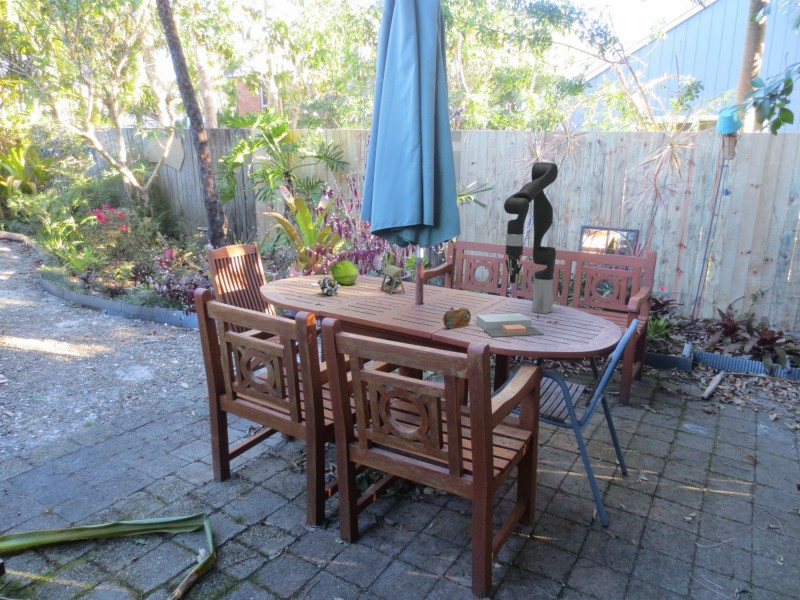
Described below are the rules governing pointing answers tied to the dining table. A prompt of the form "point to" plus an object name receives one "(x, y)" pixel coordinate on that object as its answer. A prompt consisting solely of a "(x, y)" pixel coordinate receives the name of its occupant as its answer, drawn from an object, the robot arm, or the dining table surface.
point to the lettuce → (344, 272)
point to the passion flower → (329, 285)
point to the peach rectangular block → (513, 329)
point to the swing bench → (392, 283)
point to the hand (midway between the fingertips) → (512, 282)
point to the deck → (502, 320)
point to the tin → (456, 318)
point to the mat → (500, 333)
